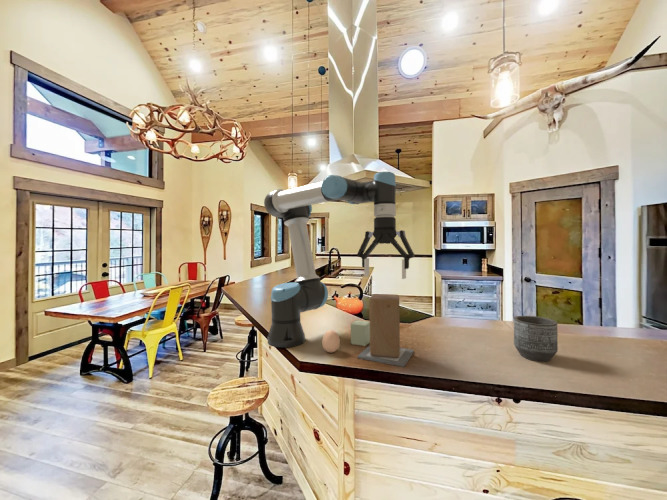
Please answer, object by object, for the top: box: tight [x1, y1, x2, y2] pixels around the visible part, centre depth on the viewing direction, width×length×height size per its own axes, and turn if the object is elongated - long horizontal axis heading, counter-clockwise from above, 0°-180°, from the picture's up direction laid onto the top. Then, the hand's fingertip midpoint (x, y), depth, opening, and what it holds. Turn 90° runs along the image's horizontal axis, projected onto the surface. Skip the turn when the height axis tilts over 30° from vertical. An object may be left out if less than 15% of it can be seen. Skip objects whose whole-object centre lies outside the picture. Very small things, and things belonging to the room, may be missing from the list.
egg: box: [321, 329, 341, 353], centre depth 103 cm, size 7×7×8 cm
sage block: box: [350, 319, 370, 347], centre depth 113 cm, size 6×6×8 cm
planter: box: [513, 315, 559, 363], centre depth 96 cm, size 12×12×13 cm
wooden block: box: [368, 293, 401, 358], centre depth 100 cm, size 10×10×20 cm
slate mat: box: [357, 344, 414, 368], centre depth 100 cm, size 16×14×1 cm
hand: (384, 277), depth 99 cm, fingers open, 13 cm apart
